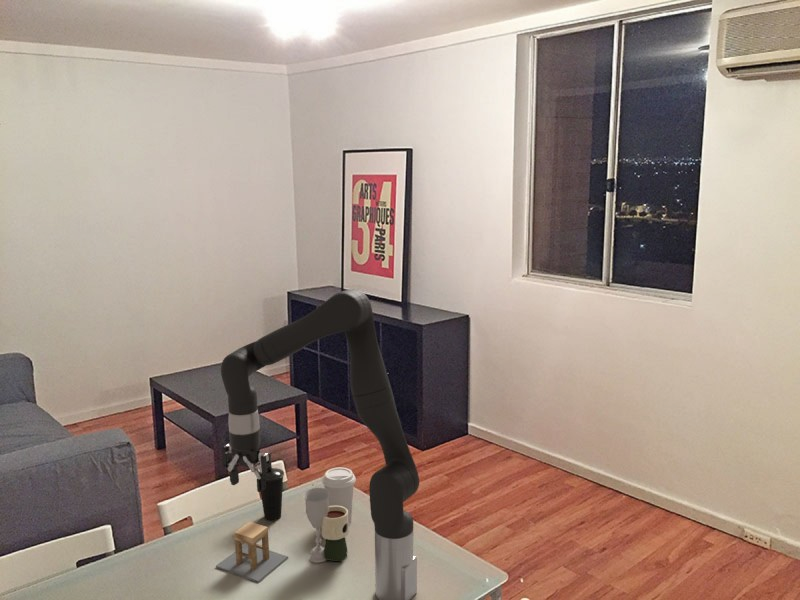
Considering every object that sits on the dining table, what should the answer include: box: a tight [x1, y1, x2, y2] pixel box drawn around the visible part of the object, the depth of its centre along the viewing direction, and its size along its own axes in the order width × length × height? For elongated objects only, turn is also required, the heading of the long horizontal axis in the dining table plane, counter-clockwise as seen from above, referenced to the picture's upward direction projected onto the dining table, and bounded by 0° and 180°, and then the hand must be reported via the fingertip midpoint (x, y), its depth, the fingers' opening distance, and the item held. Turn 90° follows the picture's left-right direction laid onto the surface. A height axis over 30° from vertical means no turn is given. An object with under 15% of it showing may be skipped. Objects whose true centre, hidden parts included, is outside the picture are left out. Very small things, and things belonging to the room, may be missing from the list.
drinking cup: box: [259, 452, 285, 522], centre depth 200 cm, size 8×8×20 cm
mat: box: [215, 543, 289, 584], centre depth 180 cm, size 14×12×1 cm
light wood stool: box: [234, 521, 270, 570], centre depth 179 cm, size 6×6×9 cm
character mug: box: [320, 505, 350, 562], centre depth 181 cm, size 11×7×13 cm, turn 0°
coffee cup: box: [321, 467, 357, 525], centre depth 198 cm, size 10×10×15 cm
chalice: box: [302, 487, 330, 563], centre depth 180 cm, size 7×7×18 cm
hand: (248, 487), depth 175 cm, fingers open, 8 cm apart
